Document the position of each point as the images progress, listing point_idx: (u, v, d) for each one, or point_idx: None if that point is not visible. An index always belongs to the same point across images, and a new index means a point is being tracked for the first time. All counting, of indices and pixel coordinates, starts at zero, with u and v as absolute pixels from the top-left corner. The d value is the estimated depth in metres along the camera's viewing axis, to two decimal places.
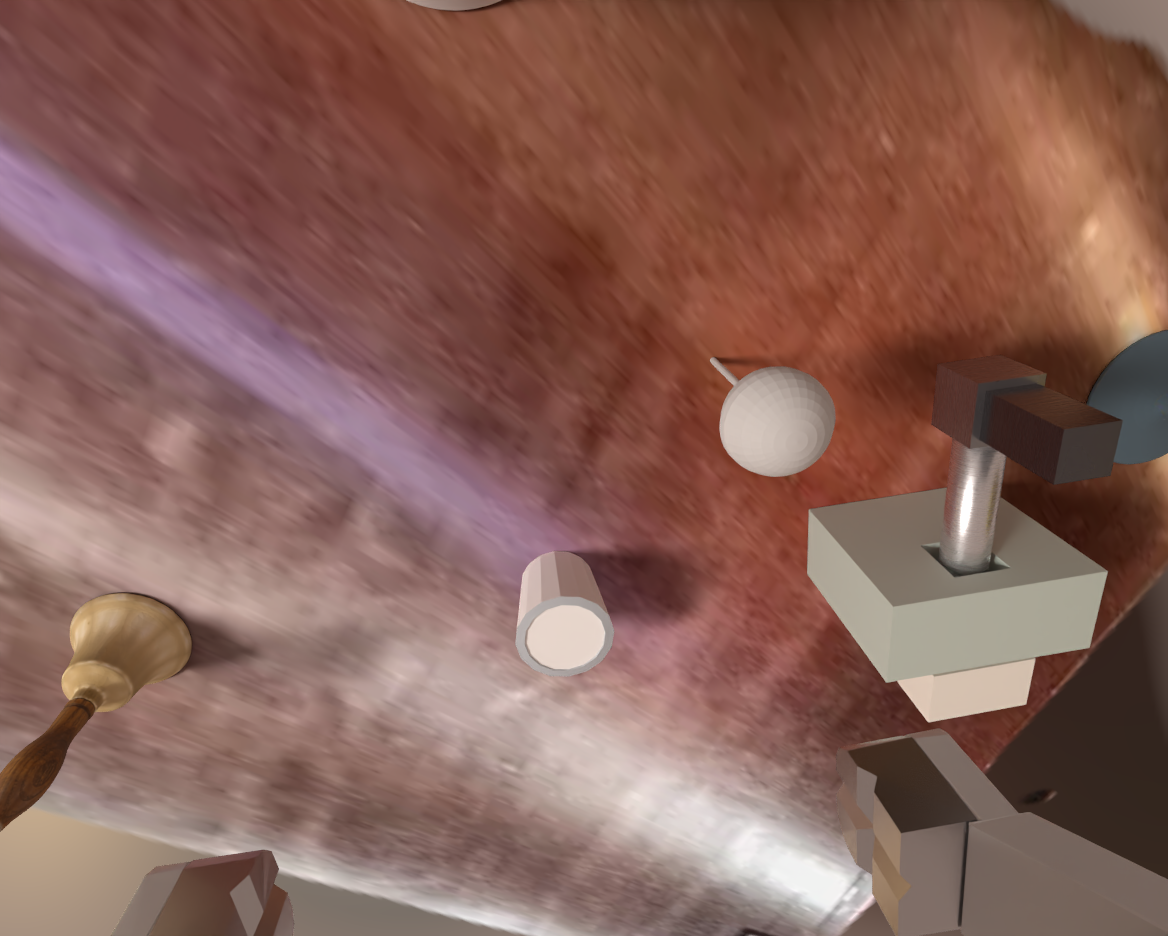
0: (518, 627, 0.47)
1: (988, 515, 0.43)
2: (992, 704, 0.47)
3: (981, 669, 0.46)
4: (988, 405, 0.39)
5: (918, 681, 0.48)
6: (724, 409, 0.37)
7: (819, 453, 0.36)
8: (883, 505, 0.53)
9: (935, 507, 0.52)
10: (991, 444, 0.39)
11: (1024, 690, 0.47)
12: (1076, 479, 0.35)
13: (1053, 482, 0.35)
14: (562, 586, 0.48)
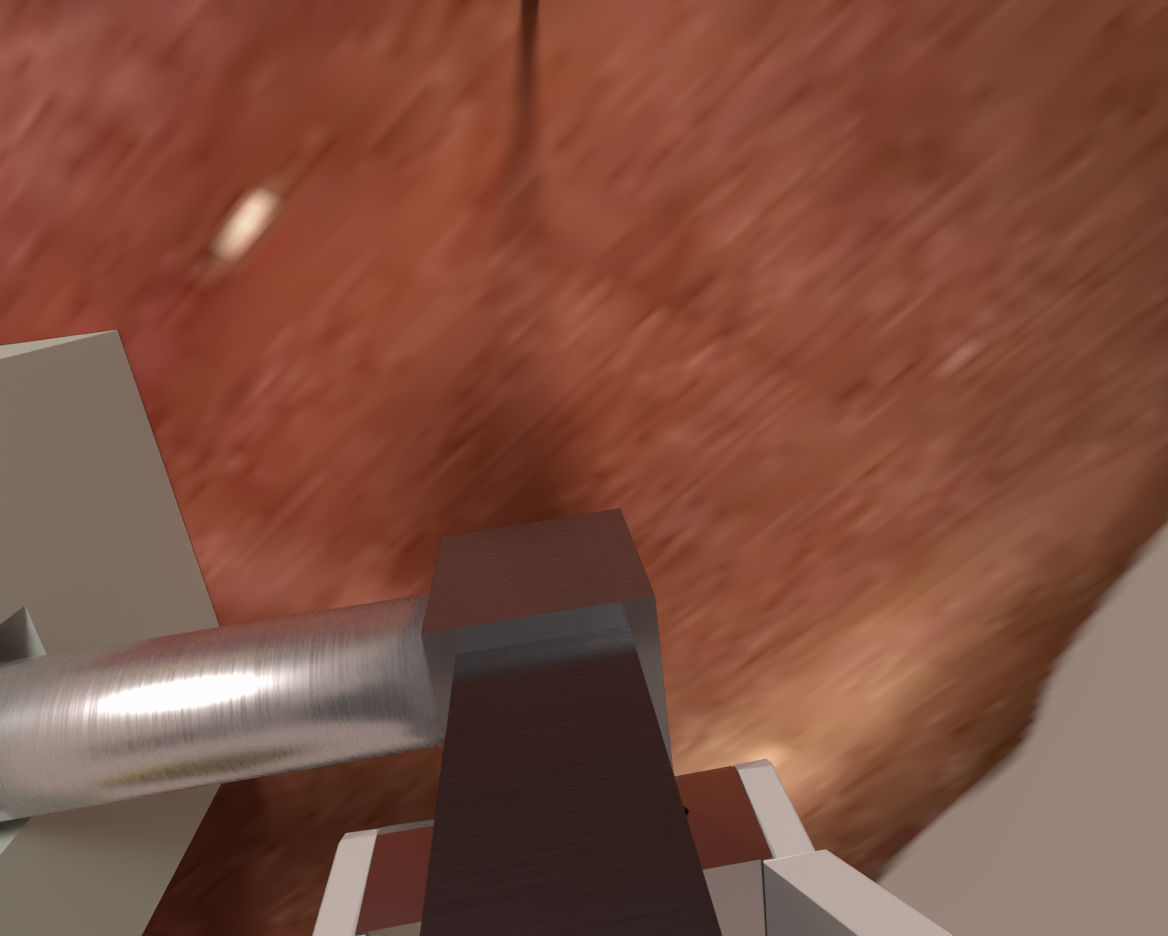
0: None
1: (168, 768, 0.13)
2: None
3: None
4: (588, 645, 0.12)
5: None
6: None
7: None
8: (159, 518, 0.21)
9: None
10: (461, 692, 0.11)
11: None
12: None
13: None
14: None
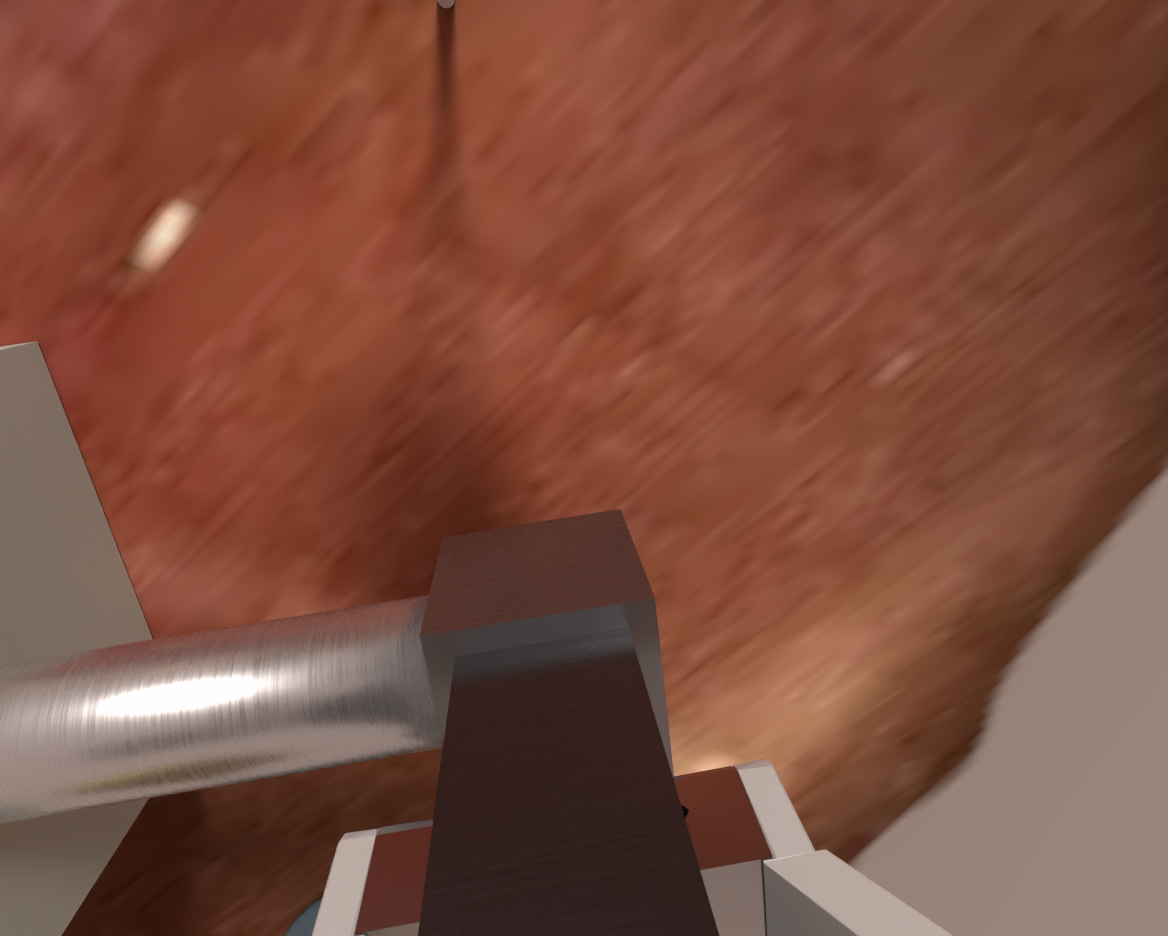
0: None
1: (167, 770, 0.13)
2: None
3: None
4: (588, 647, 0.12)
5: None
6: None
7: None
8: (83, 530, 0.21)
9: None
10: (459, 694, 0.11)
11: None
12: None
13: None
14: None
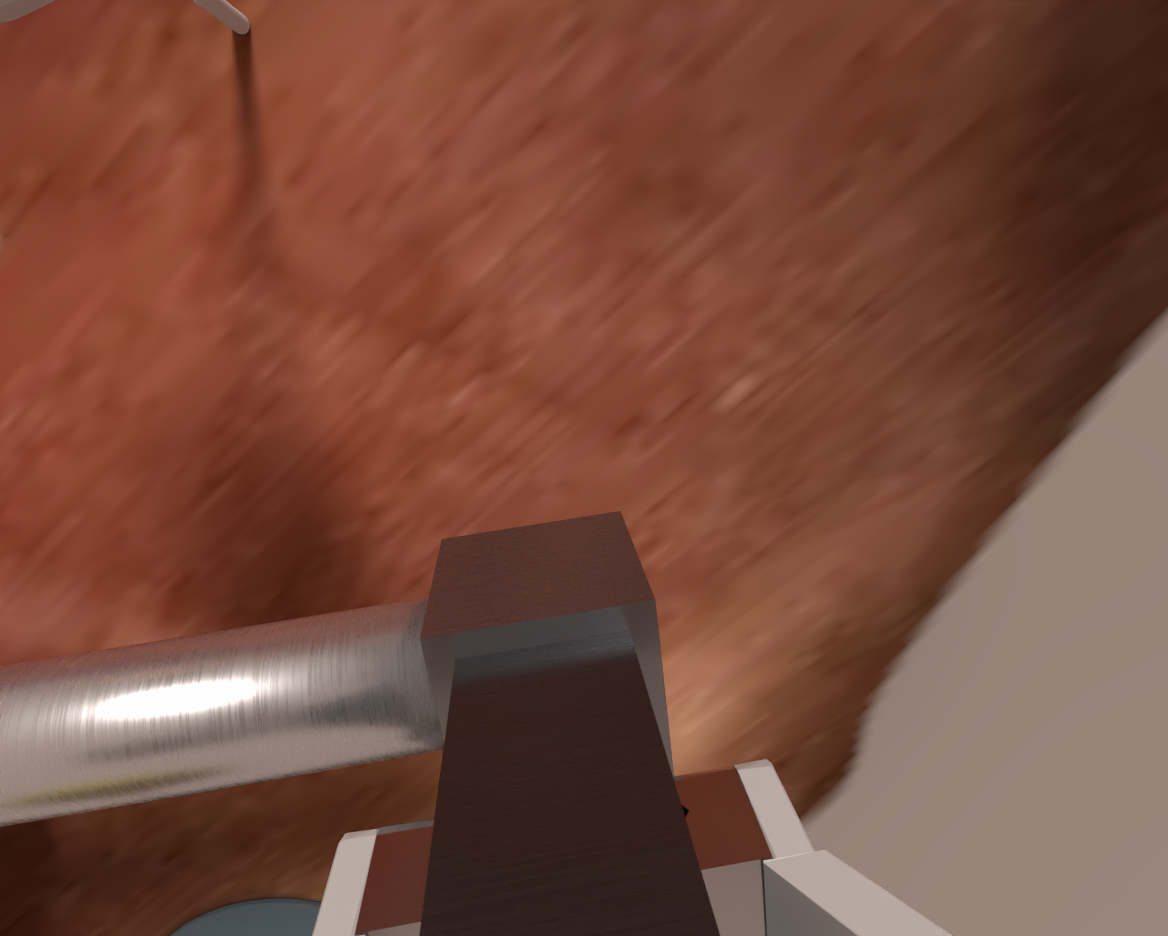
0: None
1: (167, 773, 0.13)
2: None
3: None
4: (589, 649, 0.12)
5: None
6: None
7: None
8: None
9: None
10: (460, 697, 0.11)
11: None
12: None
13: None
14: None
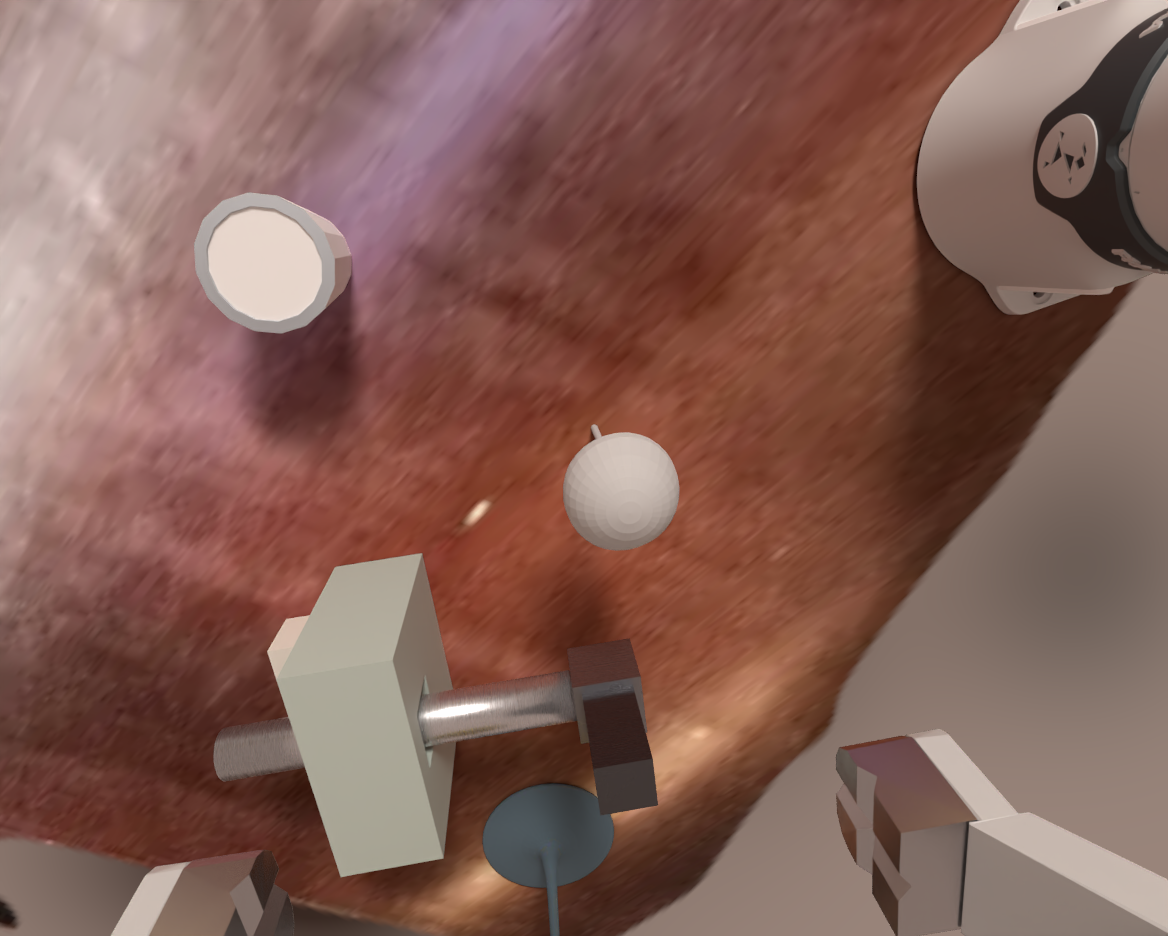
0: (279, 197, 0.34)
1: (491, 727, 0.41)
2: None
3: None
4: (621, 691, 0.40)
5: None
6: (638, 435, 0.34)
7: (608, 539, 0.34)
8: (435, 629, 0.49)
9: (442, 680, 0.49)
10: (586, 705, 0.39)
11: None
12: (597, 787, 0.35)
13: (595, 768, 0.35)
14: (338, 262, 0.37)
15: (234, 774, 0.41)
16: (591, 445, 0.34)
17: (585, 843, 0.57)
